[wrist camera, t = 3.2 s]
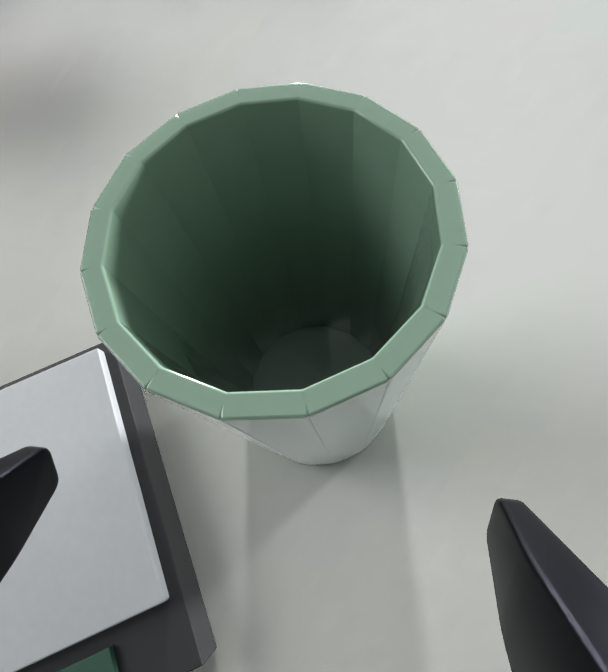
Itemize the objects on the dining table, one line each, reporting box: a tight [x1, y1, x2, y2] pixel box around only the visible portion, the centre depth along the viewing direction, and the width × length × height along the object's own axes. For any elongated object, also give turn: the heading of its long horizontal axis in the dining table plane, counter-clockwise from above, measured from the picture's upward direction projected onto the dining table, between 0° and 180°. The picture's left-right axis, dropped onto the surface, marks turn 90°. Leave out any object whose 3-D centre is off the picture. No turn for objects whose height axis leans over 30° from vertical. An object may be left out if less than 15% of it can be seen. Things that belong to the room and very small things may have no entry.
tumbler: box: [80, 83, 468, 465], centre depth 14 cm, size 7×7×14 cm
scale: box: [0, 343, 216, 672], centre depth 18 cm, size 14×12×2 cm
